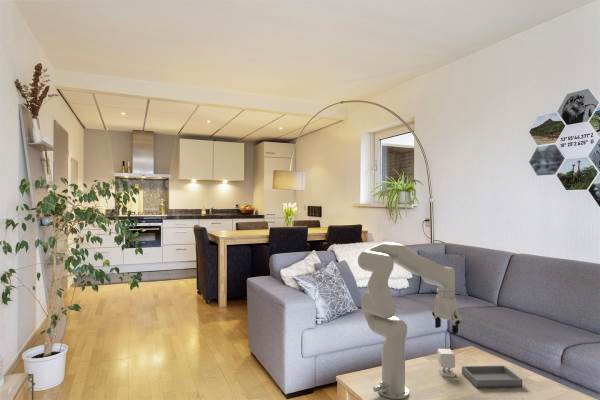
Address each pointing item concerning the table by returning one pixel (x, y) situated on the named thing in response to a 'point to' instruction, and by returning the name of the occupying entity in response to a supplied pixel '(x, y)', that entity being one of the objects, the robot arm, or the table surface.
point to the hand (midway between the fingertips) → (446, 330)
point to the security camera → (446, 362)
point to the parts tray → (491, 377)
